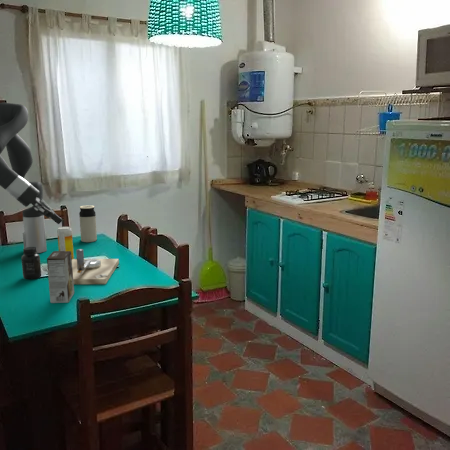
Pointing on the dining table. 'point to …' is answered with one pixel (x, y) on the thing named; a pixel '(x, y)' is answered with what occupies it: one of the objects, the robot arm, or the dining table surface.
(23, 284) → the dining table surface
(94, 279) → the wooden cutting board
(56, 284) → the coffee box
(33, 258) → the supplement bottle
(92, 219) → the travel mug
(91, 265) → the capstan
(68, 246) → the yellow white bottle
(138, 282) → the dining table surface
